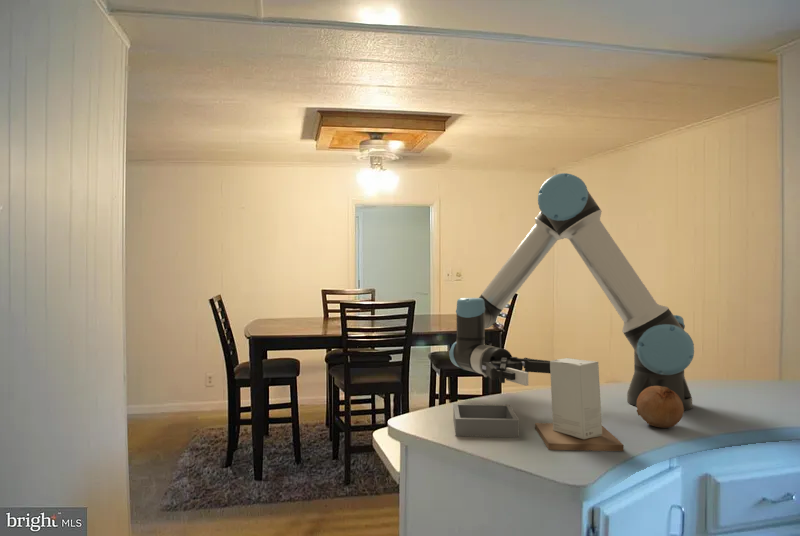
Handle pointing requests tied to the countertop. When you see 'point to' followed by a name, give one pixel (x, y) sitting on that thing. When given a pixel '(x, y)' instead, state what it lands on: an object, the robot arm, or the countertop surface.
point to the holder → (485, 420)
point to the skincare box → (576, 397)
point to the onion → (660, 406)
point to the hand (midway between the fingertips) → (551, 376)
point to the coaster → (577, 440)
